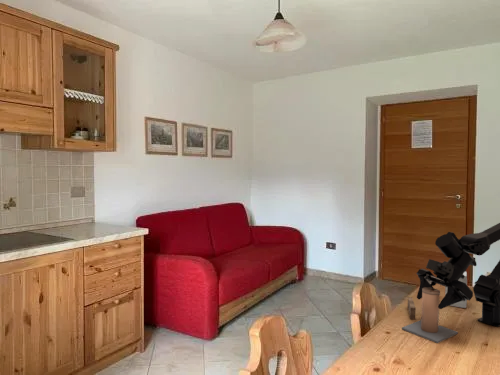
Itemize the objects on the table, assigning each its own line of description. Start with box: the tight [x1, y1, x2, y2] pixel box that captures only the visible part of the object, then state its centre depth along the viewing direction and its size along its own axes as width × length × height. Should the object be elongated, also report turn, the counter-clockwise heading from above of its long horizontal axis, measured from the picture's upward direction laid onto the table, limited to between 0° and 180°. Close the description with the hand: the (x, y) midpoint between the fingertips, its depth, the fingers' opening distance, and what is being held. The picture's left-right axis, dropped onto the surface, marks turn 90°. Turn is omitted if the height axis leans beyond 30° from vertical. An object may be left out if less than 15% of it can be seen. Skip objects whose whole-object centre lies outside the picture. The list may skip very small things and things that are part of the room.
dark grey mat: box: [401, 319, 458, 344], centre depth 119 cm, size 12×12×1 cm
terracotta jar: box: [420, 287, 441, 333], centre depth 119 cm, size 5×5×13 cm
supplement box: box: [444, 271, 468, 309], centre depth 144 cm, size 7×7×13 cm
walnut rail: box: [407, 296, 416, 320], centre depth 135 cm, size 12×2×4 cm, turn 161°
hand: (428, 303), depth 118 cm, fingers open, 9 cm apart
